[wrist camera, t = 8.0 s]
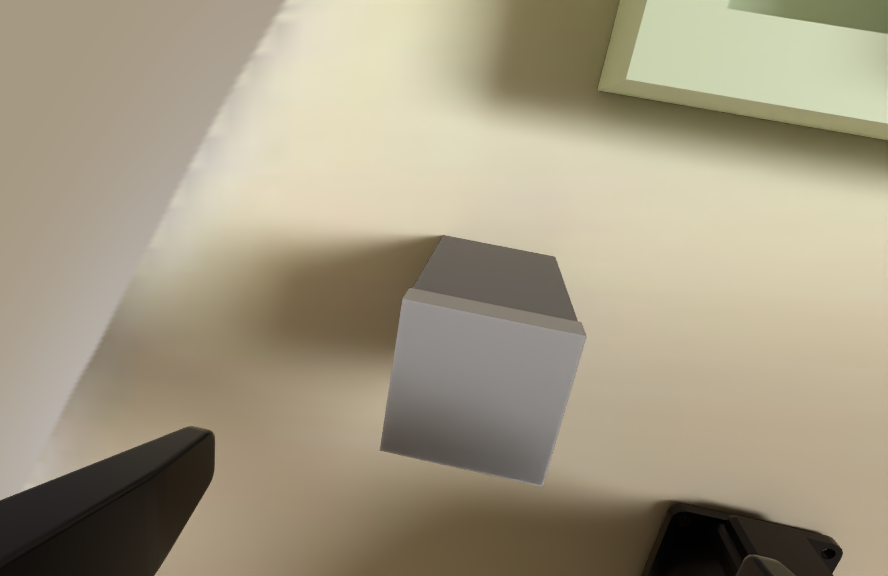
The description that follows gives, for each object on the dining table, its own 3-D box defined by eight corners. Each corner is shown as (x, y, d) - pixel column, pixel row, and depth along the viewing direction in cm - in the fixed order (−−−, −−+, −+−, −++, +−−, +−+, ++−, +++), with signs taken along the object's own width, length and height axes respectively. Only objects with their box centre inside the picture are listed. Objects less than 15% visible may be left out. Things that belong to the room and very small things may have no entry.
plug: (530, 358, 19) (542, 487, 12) (424, 336, 19) (379, 450, 12) (556, 255, 17) (586, 336, 11) (442, 233, 18) (402, 298, 11)
